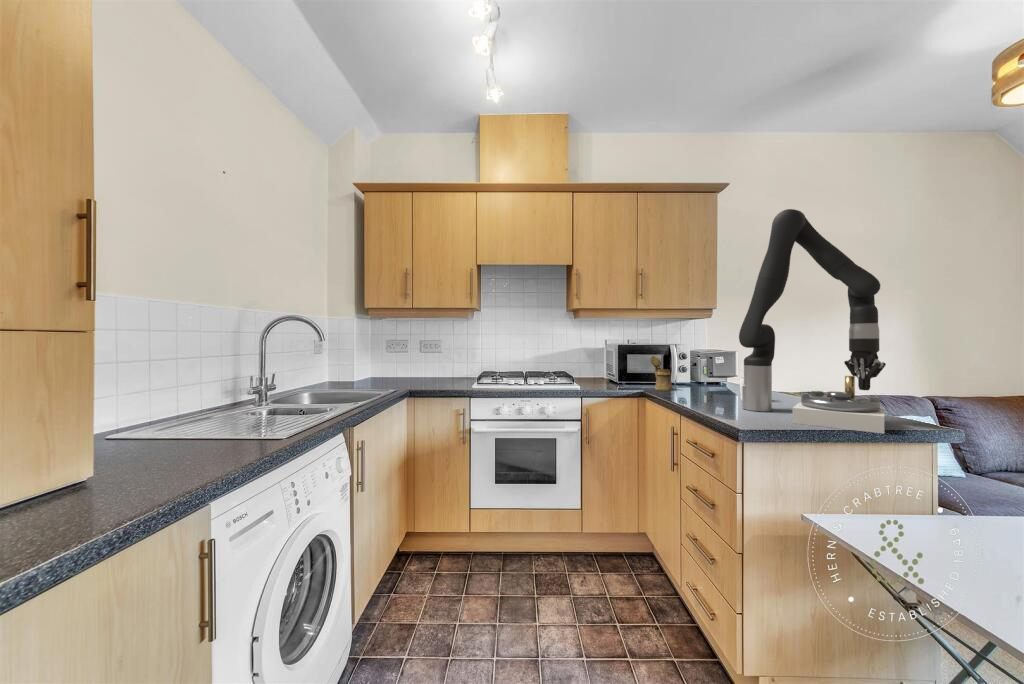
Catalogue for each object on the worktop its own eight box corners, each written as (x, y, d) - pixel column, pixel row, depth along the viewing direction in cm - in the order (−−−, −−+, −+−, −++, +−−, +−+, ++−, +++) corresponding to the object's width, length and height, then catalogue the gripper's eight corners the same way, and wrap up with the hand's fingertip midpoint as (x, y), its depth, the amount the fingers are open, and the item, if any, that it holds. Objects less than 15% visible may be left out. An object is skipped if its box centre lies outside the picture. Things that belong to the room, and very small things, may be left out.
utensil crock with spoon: (659, 387, 225) (659, 355, 225) (676, 390, 212) (676, 356, 212) (646, 388, 222) (646, 356, 222) (662, 391, 209) (662, 357, 209)
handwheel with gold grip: (864, 414, 117) (865, 382, 117) (789, 404, 134) (789, 376, 134) (890, 408, 127) (890, 378, 127) (817, 399, 145) (817, 373, 145)
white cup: (762, 402, 173) (762, 379, 173) (743, 401, 175) (743, 378, 174) (755, 399, 181) (755, 377, 181) (736, 398, 182) (736, 377, 182)
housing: (792, 423, 131) (792, 407, 130) (802, 413, 147) (802, 399, 147) (884, 433, 115) (884, 416, 115) (884, 421, 132) (884, 406, 131)
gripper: (894, 337, 125) (895, 392, 125) (856, 337, 138) (857, 387, 138) (871, 337, 124) (872, 392, 124) (835, 337, 138) (836, 387, 138)
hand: (864, 389), depth 131 cm, fingers closed
